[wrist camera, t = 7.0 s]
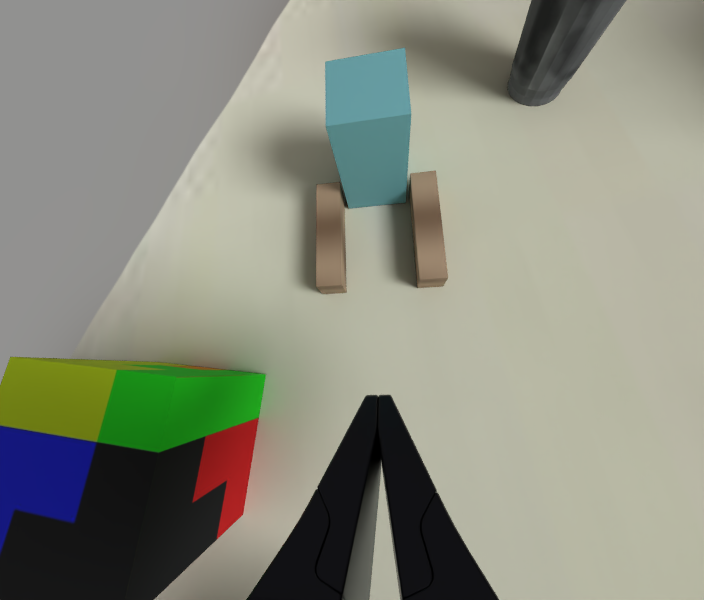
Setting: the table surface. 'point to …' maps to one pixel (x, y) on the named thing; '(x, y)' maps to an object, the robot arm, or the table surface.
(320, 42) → the table surface
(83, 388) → the puzzle toy
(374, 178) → the block
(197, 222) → the table surface
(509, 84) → the beverage cup
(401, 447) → the robot arm
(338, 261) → the chute
